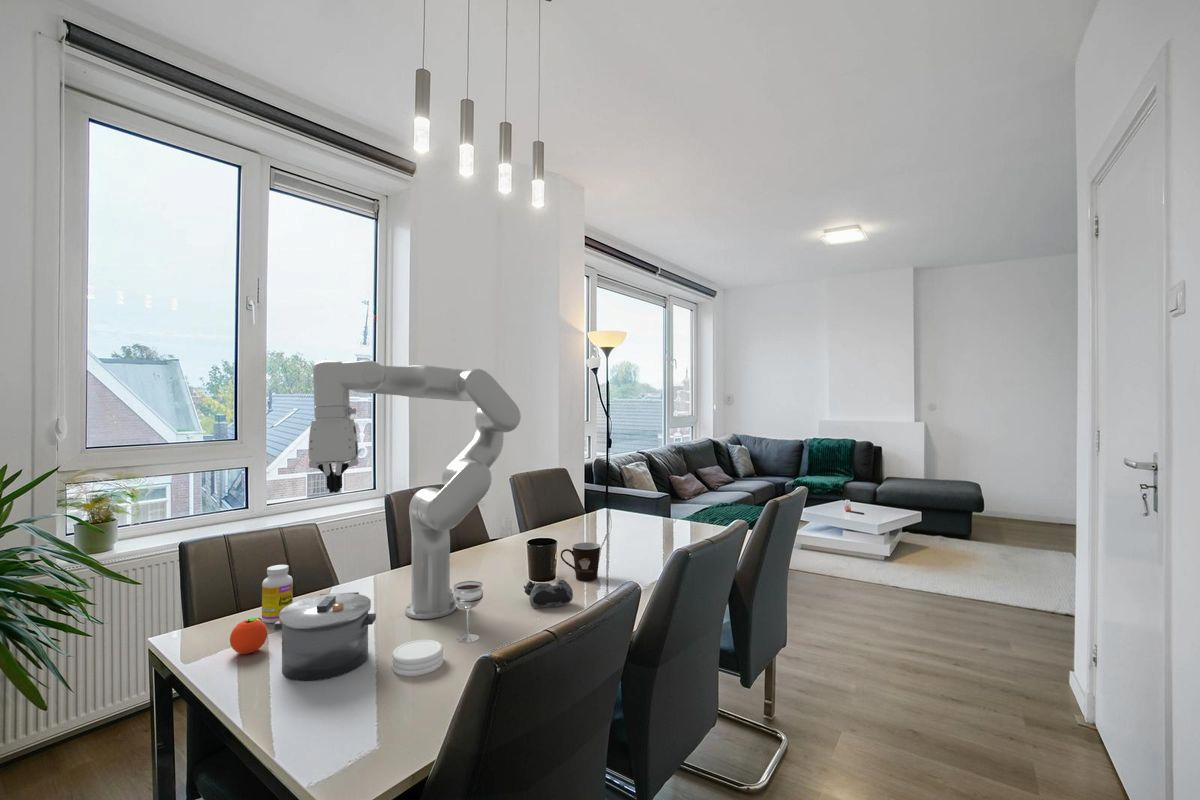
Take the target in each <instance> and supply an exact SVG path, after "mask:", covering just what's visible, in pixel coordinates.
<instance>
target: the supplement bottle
mask: <svg viewBox="0 0 1200 800" xmlns="http://www.w3.org/2000/svg"><path fill="white" fill-rule="evenodd" d="M289 567H290V566H289V565H288V564H277V565H276V564H275V565H271V566H269V567H267V569H266V575H267V577H266V578H264V579H263V581H262V583H261V591H262V592H261V620H262V622H263V623H265V624H266V623H267V624H275V623H276V622H277V621H278V620H279V613H280V611H281V610H282V609H283V608H285V607H286V606H288V605H290V604H292V603H294V602H293V598H294V597H293V596H294V595H293V593H294V592H293V591H294V589H293V587H294V580H293V577H292V575H289V574H288V572H289Z"/></svg>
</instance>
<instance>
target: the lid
mask: <svg viewBox="0 0 1200 800" xmlns="http://www.w3.org/2000/svg"><path fill="white" fill-rule="evenodd" d="M371 606H372V601H371V598H369V597H368V596H367V595H363V594H360V593H359V592H357V591H356V592H341V593H340V592H338V593H335V592H334V593H320V594H319V595H315V596H311V597H307V598H303V599H300V600H297V601H295V602H293V603H292V604H290V605H288V606H286V607H285V608H283V609H282V610H281V611H280V613H279V622H280V623H281V624H282V625H283V626H286V627H289V628H295V629H316V628H325V627H331V626H336V625H340V624H344V623H347V622H350V621H353V620H355V619H358V618H360V617H362V616H364V615H365V614H366V613H368V614H369V612H370V611H371V608H372V607H371Z"/></svg>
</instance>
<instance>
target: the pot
mask: <svg viewBox="0 0 1200 800" xmlns="http://www.w3.org/2000/svg"><path fill="white" fill-rule="evenodd" d="M376 616H377V613H376V612H375V613H369V612H368V613H366V614H365V615H364V616H362V617H360V618H358V619H355V620H353V621H350V622H347V623H344V624H340V625H336V626H331V627H325V628H316V629H295V628H289V627H286V626H283V625H282V624H281V623H280V622H279V620H278V621H277V622H276V623H274V630H275V631H276V630H277V631H279V630H280V631H281V673H282V675H283V676H284V677H285V678H287V679H290V680H293V681H299V682H312V681H313V682H315V681H322V680H328V679H333V678H337V677H340V676H343V675H346V674H349V673H350V672H353V671H354V670H356V669H358V668H360V667H361V666H363V665H364V664H365V663H366V662H367V660H368V658H369V625H370V626H371V625H373V624H374V622H375V621H376V619H377V617H376Z"/></svg>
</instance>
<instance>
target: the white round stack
mask: <svg viewBox="0 0 1200 800" xmlns="http://www.w3.org/2000/svg"><path fill="white" fill-rule="evenodd" d="M391 657H392V659H391V662H392V664H391V668H392V670H393V673H395V674H397V675H399V676H403V677H417V676H418V677H419V676H423V675H427V674H431V673H433V672H435V671H437V670H438V669H440V667H441V666H442V665H443V663H444V645H443V643H441V642H439V641H437V640H433V639H416V640H413V641H409V642H405V643H403V644H401V645H399V646H398V647H395V649H394V650H393V651H392V654H391Z"/></svg>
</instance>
